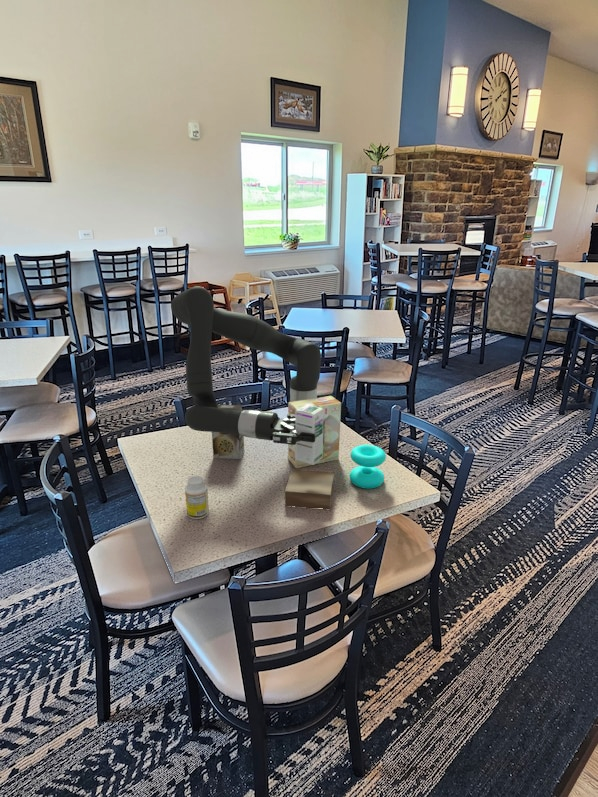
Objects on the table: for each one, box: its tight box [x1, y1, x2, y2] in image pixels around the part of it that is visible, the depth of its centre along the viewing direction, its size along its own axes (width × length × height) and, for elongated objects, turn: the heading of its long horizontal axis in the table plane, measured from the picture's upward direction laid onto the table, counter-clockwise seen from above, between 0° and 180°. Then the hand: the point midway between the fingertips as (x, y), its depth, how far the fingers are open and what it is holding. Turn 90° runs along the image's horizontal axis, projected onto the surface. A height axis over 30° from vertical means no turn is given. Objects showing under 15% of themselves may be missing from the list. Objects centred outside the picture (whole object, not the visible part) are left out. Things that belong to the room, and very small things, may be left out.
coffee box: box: [211, 404, 245, 460], centre depth 156 cm, size 9×6×16 cm
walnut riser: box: [284, 468, 335, 510], centre depth 136 cm, size 12×12×5 cm
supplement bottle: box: [184, 475, 210, 520], centre depth 127 cm, size 6×6×10 cm
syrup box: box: [295, 404, 325, 466], centre depth 130 cm, size 6×6×14 cm
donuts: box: [349, 444, 387, 490], centre depth 142 cm, size 10×10×10 cm
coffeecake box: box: [287, 395, 342, 469], centre depth 153 cm, size 15×7×20 cm, turn 114°
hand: (318, 432), depth 129 cm, fingers closed on syrup box, 7 cm apart
